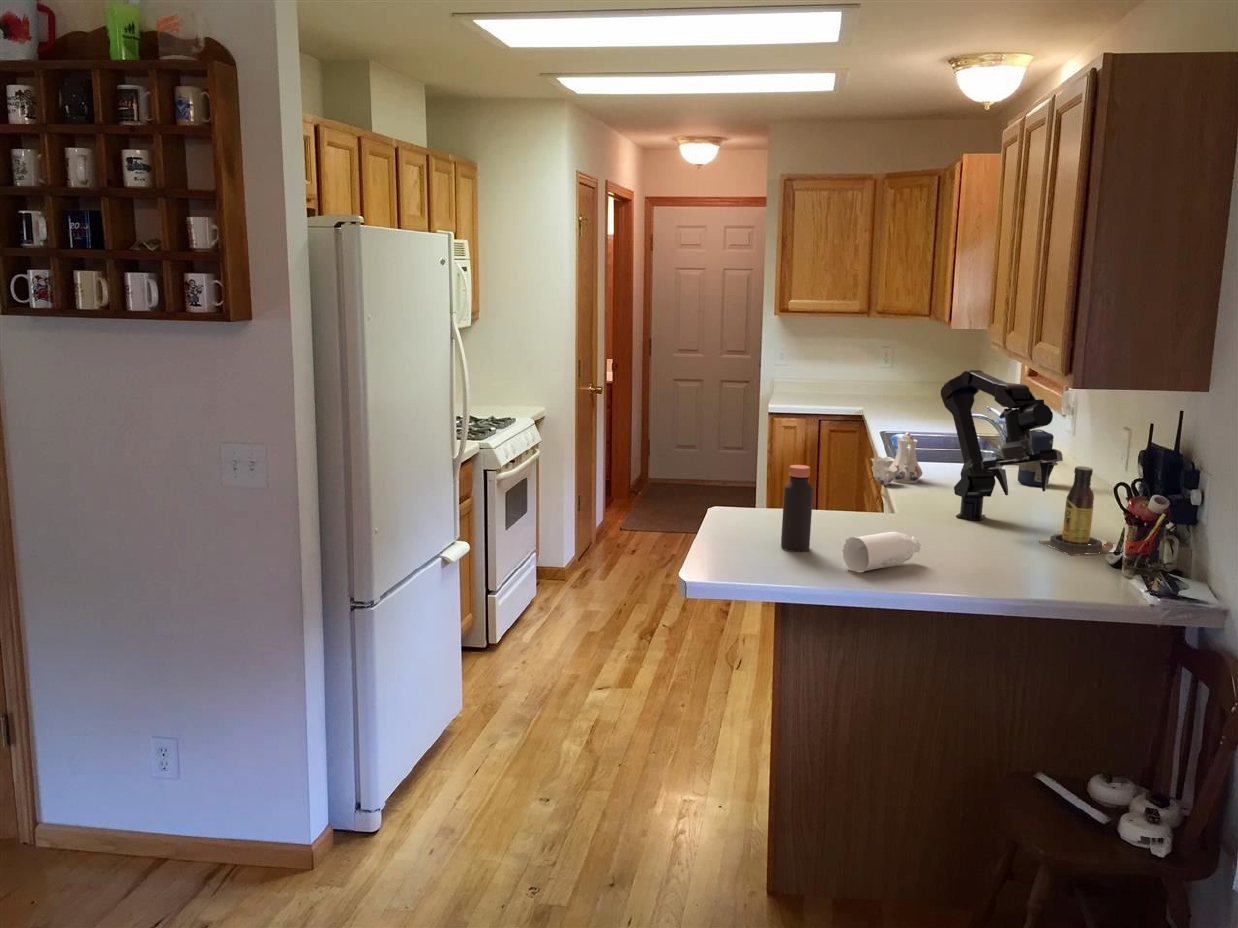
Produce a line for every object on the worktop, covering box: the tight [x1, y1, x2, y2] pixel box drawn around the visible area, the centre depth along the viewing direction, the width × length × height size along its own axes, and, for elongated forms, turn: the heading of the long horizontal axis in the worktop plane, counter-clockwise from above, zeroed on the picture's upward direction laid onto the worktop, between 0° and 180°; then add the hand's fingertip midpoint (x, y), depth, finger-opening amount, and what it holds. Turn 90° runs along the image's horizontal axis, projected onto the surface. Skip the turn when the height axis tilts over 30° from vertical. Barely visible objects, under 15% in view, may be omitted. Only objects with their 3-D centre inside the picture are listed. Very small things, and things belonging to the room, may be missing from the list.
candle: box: [1017, 428, 1054, 487], centre depth 335 cm, size 10×10×18 cm
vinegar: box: [780, 464, 814, 552], centre depth 250 cm, size 7×7×20 cm
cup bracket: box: [1039, 533, 1114, 555], centre depth 260 cm, size 18×12×2 cm, turn 105°
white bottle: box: [841, 531, 921, 573], centre depth 238 cm, size 8×19×8 cm, turn 120°
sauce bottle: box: [1062, 465, 1095, 545], centre depth 258 cm, size 7×6×20 cm
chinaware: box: [870, 430, 923, 487], centre depth 337 cm, size 28×17×17 cm, turn 172°
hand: (1025, 493), depth 266 cm, fingers open, 9 cm apart
